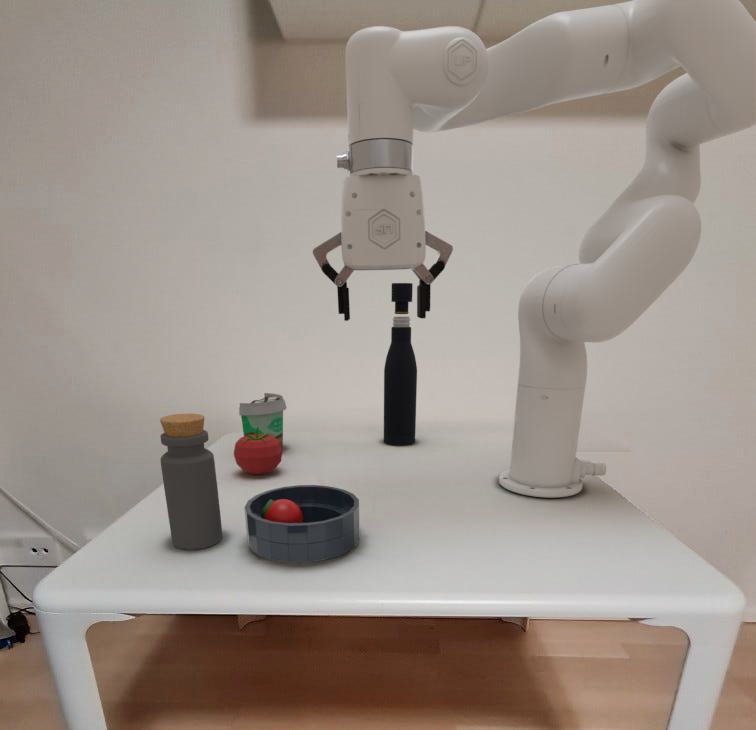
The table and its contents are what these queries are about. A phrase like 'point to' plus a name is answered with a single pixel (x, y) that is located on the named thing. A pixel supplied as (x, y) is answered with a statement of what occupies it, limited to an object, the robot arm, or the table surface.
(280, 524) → the bowl
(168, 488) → the bottle
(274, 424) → the food container
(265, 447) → the tomato
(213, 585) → the table surface
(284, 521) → the cherry tomato
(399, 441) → the black water bottle
